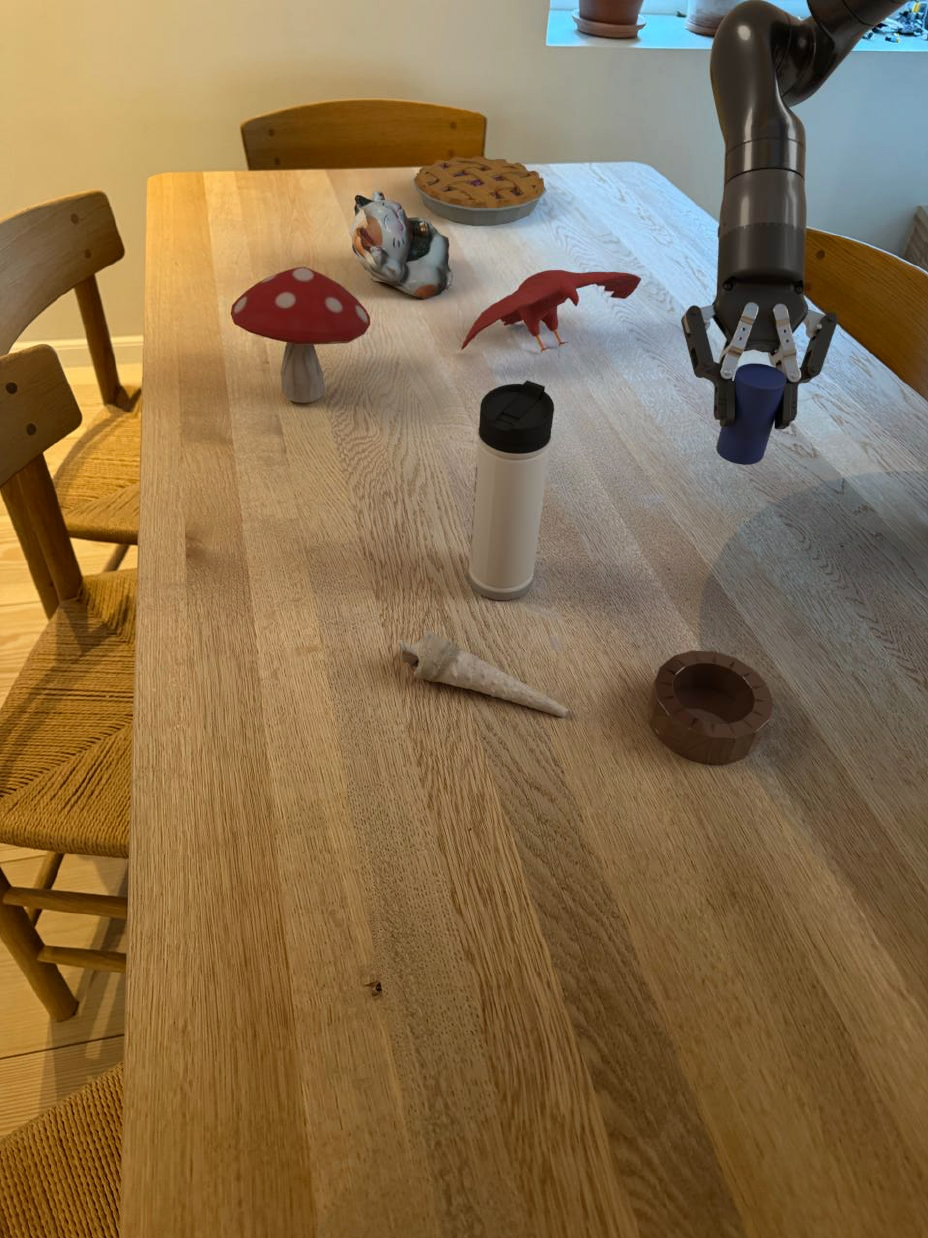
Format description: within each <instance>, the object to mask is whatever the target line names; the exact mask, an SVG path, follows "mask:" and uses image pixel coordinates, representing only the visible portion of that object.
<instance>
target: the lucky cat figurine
mask: <svg viewBox="0 0 928 1238" xmlns="http://www.w3.org/2000/svg"><path fill="white" fill-rule="evenodd" d="M354 201H355V204H354V207H353V210H354V219H353V222H352V224H351V226H350V228H349V235H350V237H351V243H352V244H351V248H352V253H353V255H354V256H355V258H356V260H357V261H358V262H359V263H360V265H361V266H362V268H363V269H364V270H365V271H366V272H368V275H369V278H370V280H372V281H374V282H382V283H385V284H387V285H390V286H391V287H392V286H393V287H394V288H396V289H398V290H399V291H401V292H403V293H404V294H405V293H406V294H407V295H411V296H413V297H415V298H417V299H421V300H426V299H430V298H434V297H438V296H440V295H441V294H442V293H443V292H444V291H448V290H449V289H450V288H451V287H452V282H453V278H454V276H453V275H454V274H453V271H452V269H451V268H450V265H449V262H450V261H449V260H450V254H449V250H450V240H449V237H447V236H446V235H443V234H441V233H440V232H439V230H438V229H437V228H436V227H435V226H434V225H433V223H432V222H431V221H430V220H429V219H427V218H424V217H422V216H421V217H420V216H411V217H408V215H407V214H406V211H405V209H404V207H403V205H402V204H401V203H399V202H398V201H395V200H391V199H386V198H385V195H384V193H383V192H382V191H381V190H375V191H373V192H372V195H371V196H370V198H368V197H365V196H363V195H361V194H356V195H355V196H354Z"/></svg>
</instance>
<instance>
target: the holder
mask: <svg viewBox="0 0 928 1238" xmlns="http://www.w3.org/2000/svg"><path fill="white" fill-rule="evenodd" d="M773 707H774V701H773V697H772V693H771V690H770V687H769V685H768V684H767V683H766V681H765V680H764V679H763V677H761V675H760V674H759V673H758V672H757V671H756V670H755V669H754V668H753V667H750V666H749V665H748V664H747V663H745V662H743V661H741V660H740V659H738V658H736V657H734V656H730V655H728V654H726V653H725V654H724V653H722V652H719V651H713V650H689V651H685V652H682V653H678V654H675V655H673V656H672V657H670V659H668V660H667V661H666V662H664V663H663V664H662V665H660V667H659V668H658V671H657V673H656V676H655V679H654V682H653V685H652V688H651V693H650V696H649V699H648V703H647V718H648V722H649V725H650V727H651V730H652V731H653V733H654V734H655V736H656V737H657V738H658V740H660V742H661V743H662V744H663V745H664V746H666V747H667V748H668V749H669V750H671V751H672V752H674V753H675V754H677V755H679V756H680V757H683V758H685V759H687V760H690V761H692V762H696V763H700V764H705V765H712V766H713V765H714V766H715V765H717V766H719V765H729V764H733V763H736V762H739V761H741V760H744V759H745V758H747V757H748V756H750V755H752V753H753V752H754V751H755V750H756V749H757V747H758V745H759V744H761V741H762V739H763V736H764V734H765V732H766V729H767V727H768V724H769V722H770V719H771V716H772V711H773Z"/></svg>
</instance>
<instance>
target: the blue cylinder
mask: <svg viewBox="0 0 928 1238" xmlns="http://www.w3.org/2000/svg"><path fill="white" fill-rule="evenodd" d="M733 381H735V384H736V387H735V414H734V422H733V424H731V425H730V426H729V427H721V426H720V430H719V435H718V439H717V442H716V445H715V446H716V447H715V449H716V452H717V454H718V456H719V457H721V458H722V459H723V460H725V461H727V462H730V463H732V464H736V465H740V466H741V465H742V466H743V465H744V466H749V465H751V466H752V465H755V464H758V463H760V462H761V461H762V460H763V459H764V457H765V456H764V455H765V452H766V449H767V446H768V443H769V440H770V436H771V432H772V430H773V426H774V423H775V417H776V414H777V410H778V407H779V404H780V401H781V397H782V394H783V391H784V387H785V384H786V376H785V375H784V373H782V372H781V371H780V370H778V369H777V368H774V367H773V366H772V365H769V364H764V363H754V362H751V363H750V362H749V363H744V364H742V365H740V366H739V367H737V368H736V370H735V373H734V376H733Z"/></svg>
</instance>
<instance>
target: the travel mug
mask: <svg viewBox="0 0 928 1238" xmlns="http://www.w3.org/2000/svg"><path fill="white" fill-rule="evenodd" d="M545 390H546V386H545V385H542V384H540V383H536V382H534V381H531V380H525V381H524V382H523V383H508V384H504V385H500V386H498V387H495V388H492V389H491V390H490V391H488V392H487V393H486V394H485V395H484V396H483V398H482V399H481V402H480V408H479V409H480V410H479V424H478V429H477V443H476V445H477V446H476V459H475V472H474V473H475V474H474V490H473V491H474V492H473V502H472V518H471V535H470V549H469V563H468V577H467V578H468V582H469V584H470V586H471V587H472V589H473V591H475V592H476V593H478V594H479V595H480V596H482V597H485V598H488V599H490V600H495V601H511V600H515V599H518V598H520V597H523V596H524V595H525V594H526V593H527V592H529V591H530V589H531V588H532V585H533V581H534V575H535V574H534V573H535V566H536V559H537V552H538V551H537V549H538V543H539V535H540V527H541V520H542V512H543V506H544V505H543V504H544V496H545V489H546V482H547V481H546V480H547V472H548V466H549V459H550V458H549V457H550V452H551V451H550V449H551V442H552V427H553V423H554V413H555V404H554V400H553V398H552V397H551V396H550V394H548V393H547V392H546V391H545Z"/></svg>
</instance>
